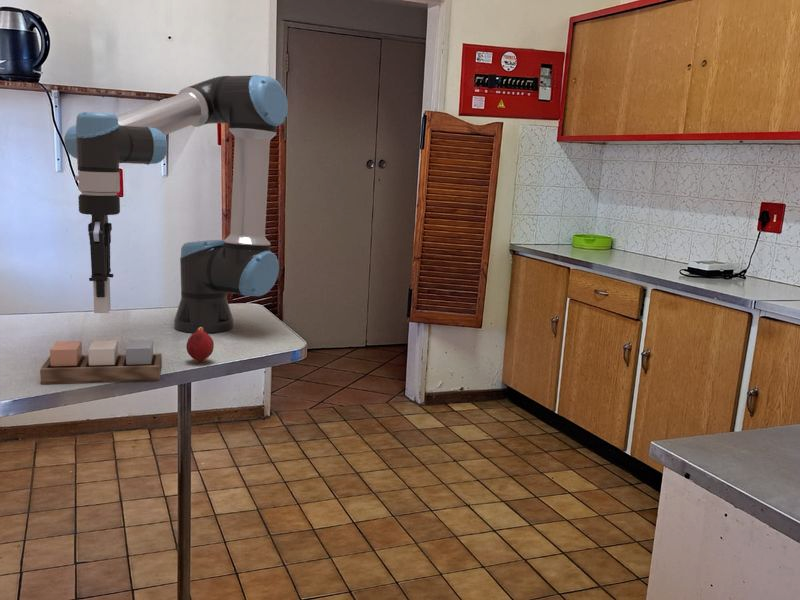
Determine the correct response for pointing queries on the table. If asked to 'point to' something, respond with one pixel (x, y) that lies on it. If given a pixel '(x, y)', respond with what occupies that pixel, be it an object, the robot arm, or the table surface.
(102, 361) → the cream key
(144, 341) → the slate key
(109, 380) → the wooden compartment tray
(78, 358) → the terracotta key
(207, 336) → the onion
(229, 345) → the table surface
